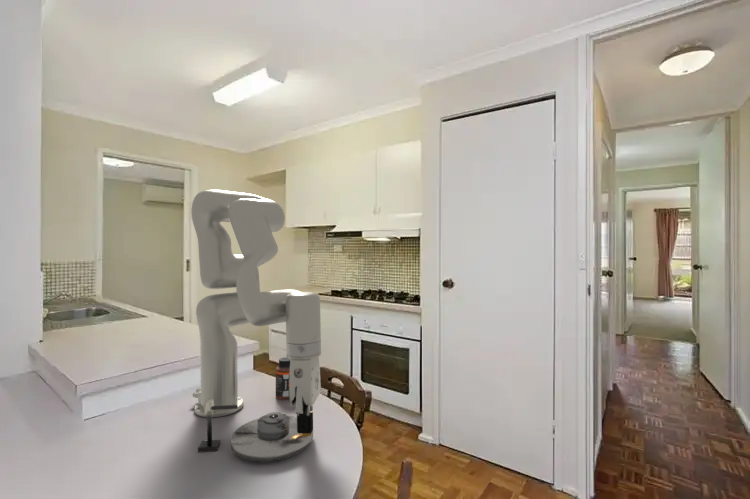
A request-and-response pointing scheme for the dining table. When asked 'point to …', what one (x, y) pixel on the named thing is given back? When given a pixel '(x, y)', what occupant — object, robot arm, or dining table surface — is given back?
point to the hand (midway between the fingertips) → (305, 431)
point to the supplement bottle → (283, 379)
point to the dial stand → (208, 412)
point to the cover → (273, 426)
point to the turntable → (268, 443)
